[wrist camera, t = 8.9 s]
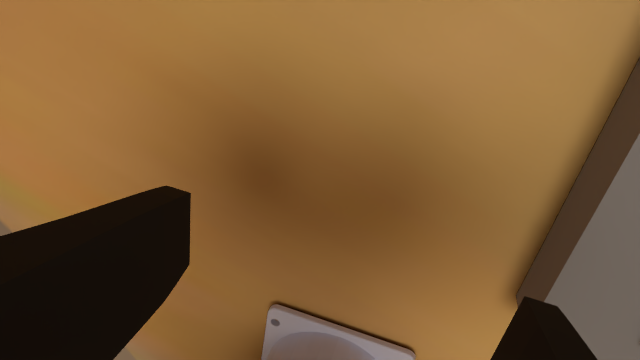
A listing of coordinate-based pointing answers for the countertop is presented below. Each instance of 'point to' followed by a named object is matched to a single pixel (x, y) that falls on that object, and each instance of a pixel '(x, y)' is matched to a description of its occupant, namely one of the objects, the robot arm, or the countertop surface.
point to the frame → (599, 240)
